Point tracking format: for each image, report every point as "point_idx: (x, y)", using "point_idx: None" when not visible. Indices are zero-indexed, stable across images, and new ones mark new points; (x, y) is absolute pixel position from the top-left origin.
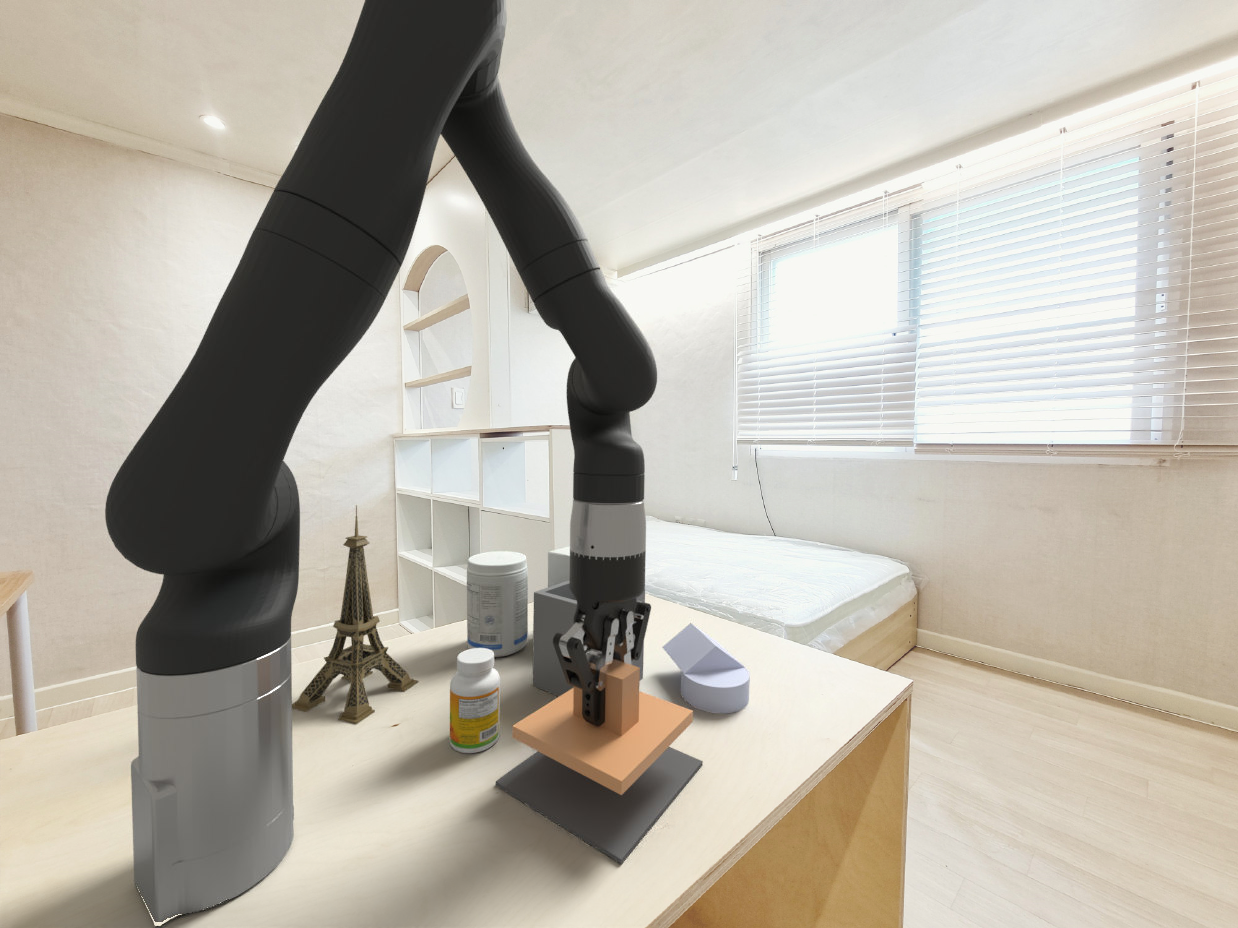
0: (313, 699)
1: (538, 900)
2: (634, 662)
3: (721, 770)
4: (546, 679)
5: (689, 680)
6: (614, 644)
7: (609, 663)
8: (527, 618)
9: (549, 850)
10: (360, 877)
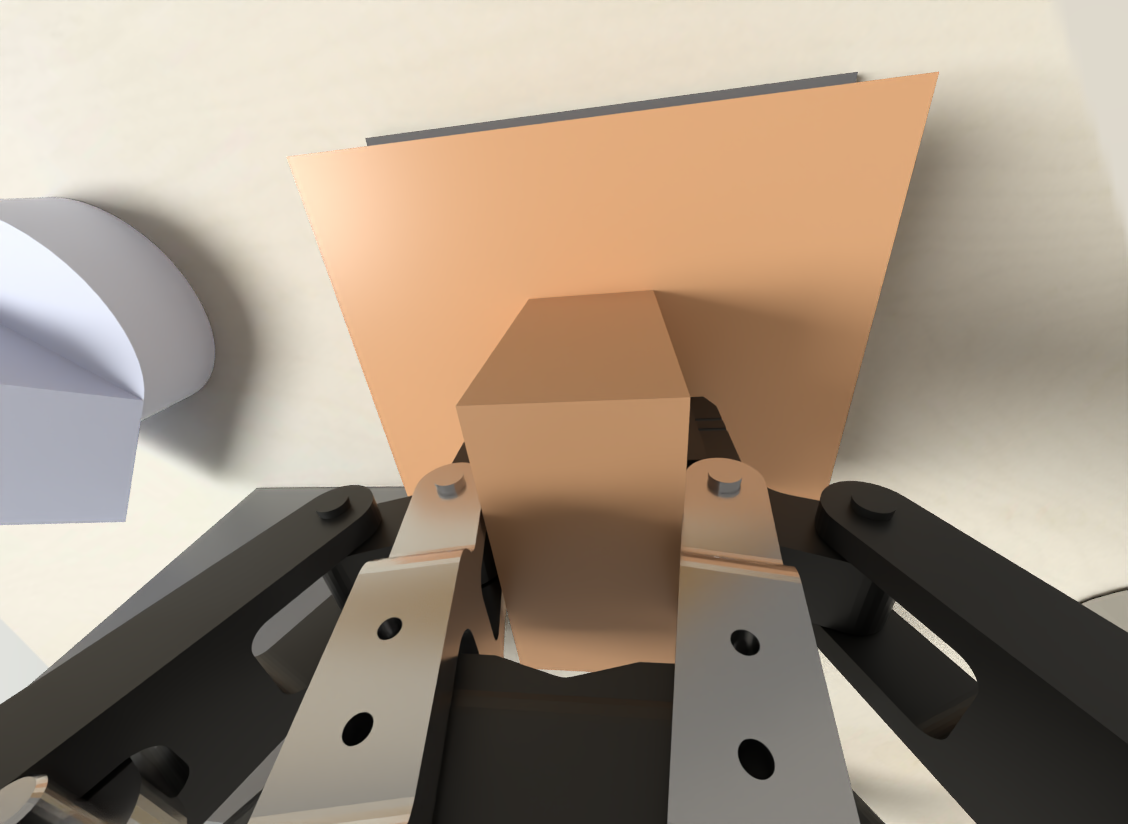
0: None
1: (1043, 177)
2: (250, 530)
3: (340, 68)
4: None
5: (148, 369)
6: (560, 683)
7: (712, 557)
8: None
9: (889, 267)
10: (1094, 490)
